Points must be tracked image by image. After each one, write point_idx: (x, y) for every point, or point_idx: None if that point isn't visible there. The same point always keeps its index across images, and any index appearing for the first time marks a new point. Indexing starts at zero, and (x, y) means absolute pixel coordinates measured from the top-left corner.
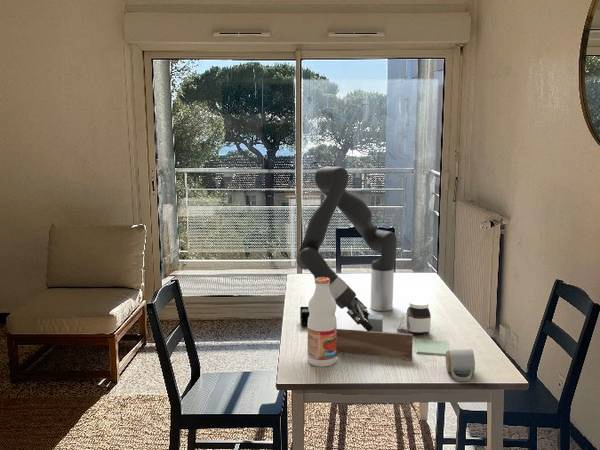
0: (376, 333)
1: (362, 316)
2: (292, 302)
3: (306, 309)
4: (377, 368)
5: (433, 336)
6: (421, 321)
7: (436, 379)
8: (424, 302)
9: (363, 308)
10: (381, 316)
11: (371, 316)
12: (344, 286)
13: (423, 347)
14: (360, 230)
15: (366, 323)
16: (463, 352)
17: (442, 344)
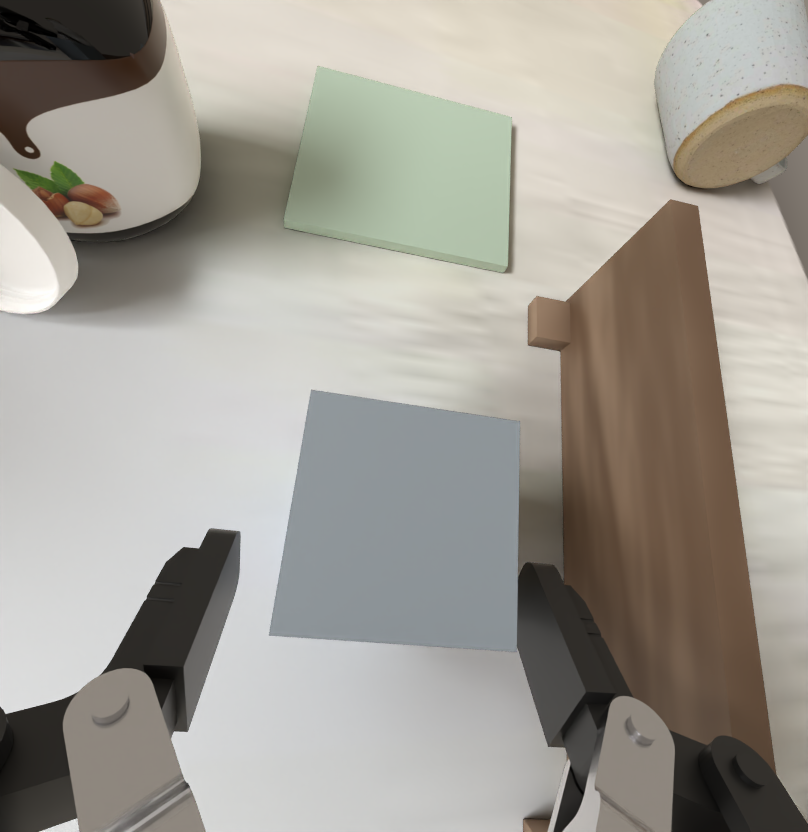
0: (736, 521)
1: (654, 788)
2: None
3: None
4: (764, 526)
5: (201, 115)
6: (178, 65)
7: (780, 254)
8: None
9: (199, 828)
10: (384, 420)
11: (398, 585)
12: None
13: (434, 215)
14: None
15: (608, 660)
16: (806, 29)
17: (374, 108)
